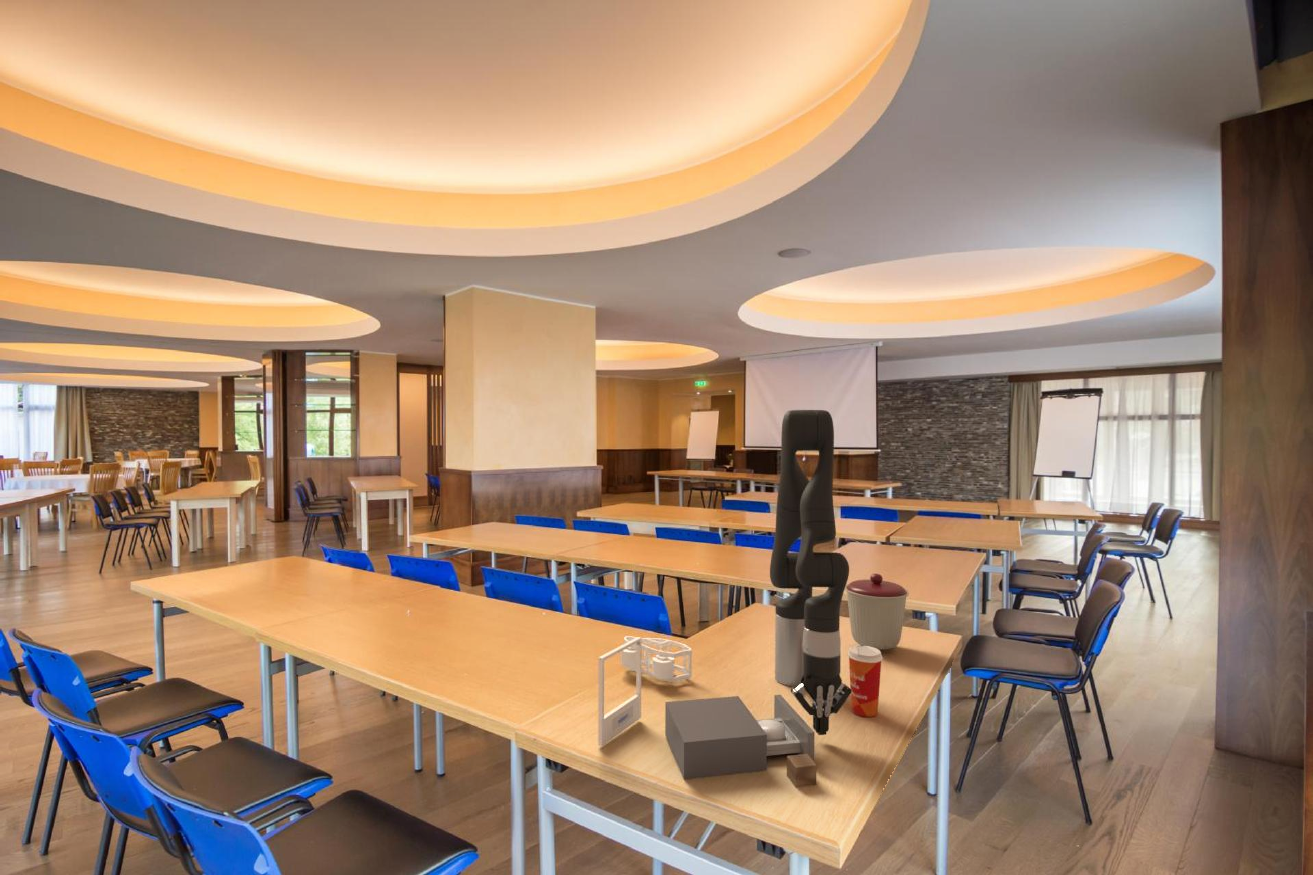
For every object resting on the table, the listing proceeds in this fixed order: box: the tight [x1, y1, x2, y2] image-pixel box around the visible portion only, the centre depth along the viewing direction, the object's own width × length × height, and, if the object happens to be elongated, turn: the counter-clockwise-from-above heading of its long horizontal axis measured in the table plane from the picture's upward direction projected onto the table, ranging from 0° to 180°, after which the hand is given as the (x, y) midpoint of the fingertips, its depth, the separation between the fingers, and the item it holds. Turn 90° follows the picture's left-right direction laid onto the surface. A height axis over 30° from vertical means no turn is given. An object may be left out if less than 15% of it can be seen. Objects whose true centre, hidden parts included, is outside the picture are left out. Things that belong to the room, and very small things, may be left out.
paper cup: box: [846, 645, 884, 718], centre depth 142 cm, size 8×8×14 cm
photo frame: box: [597, 636, 642, 747], centre depth 133 cm, size 15×1×18 cm, turn 149°
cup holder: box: [620, 635, 693, 683], centre depth 165 cm, size 20×11×7 cm, turn 50°
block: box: [786, 754, 818, 788], centre depth 114 cm, size 4×4×4 cm
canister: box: [844, 573, 910, 651], centre depth 186 cm, size 18×18×21 cm
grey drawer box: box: [664, 695, 768, 781], centre depth 124 cm, size 16×17×7 cm
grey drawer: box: [756, 694, 815, 763], centre depth 126 cm, size 15×17×6 cm
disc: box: [758, 719, 785, 742], centre depth 126 cm, size 6×6×2 cm
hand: (820, 732), depth 128 cm, fingers closed
